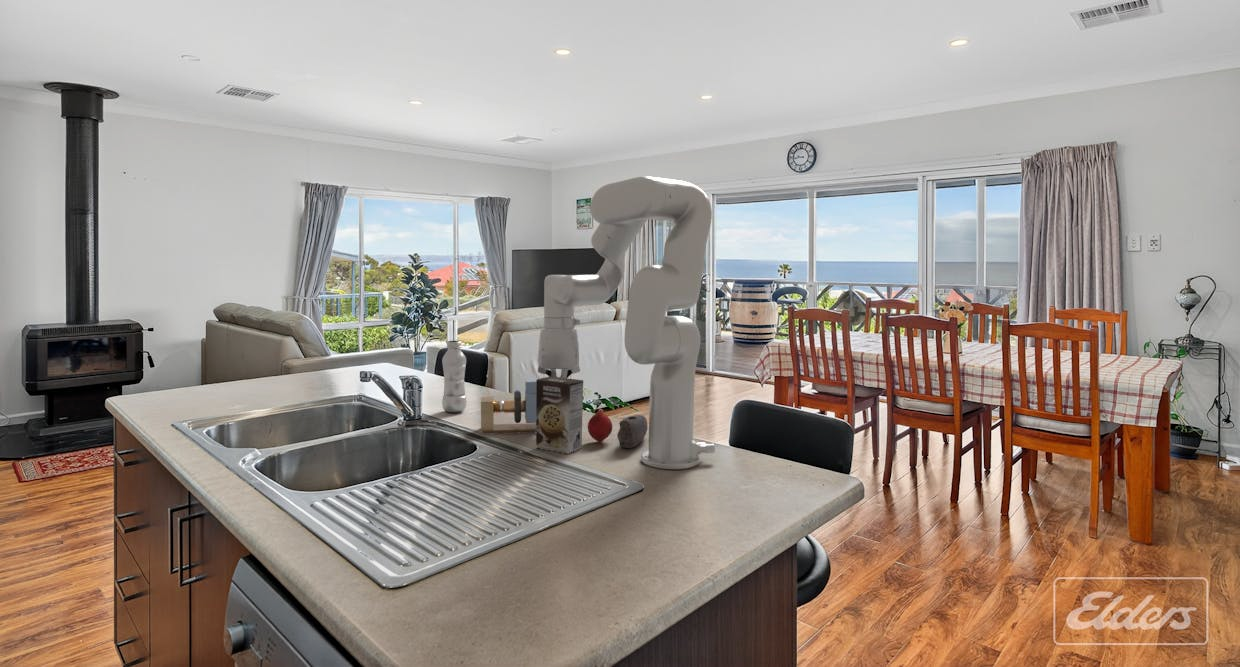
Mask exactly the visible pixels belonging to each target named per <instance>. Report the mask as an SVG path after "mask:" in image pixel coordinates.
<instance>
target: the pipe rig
mask: <svg viewBox="0 0 1240 667" xmlns="http://www.w3.org/2000/svg"><path fill="white" fill-rule="evenodd" d="M525 412H526V400H525V399H522V400H521V413H525ZM504 413H505V414H509V413H510V414H512V413H513V414H514V413H515V401H514V400H494V396H485V397H484V396H482V397H481V400H480V434H481V433H494V434H519V433H518V432H520V433H521V432H528V433H536V423H501V424H500V423H498V424H497V423H496V424H495V423H494V420H495V419H494V418H495V417H494V415H495V414H504ZM521 434H522V433H521Z"/></svg>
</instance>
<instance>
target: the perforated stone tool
mask: <svg viewBox="0 0 1240 667" xmlns="http://www.w3.org/2000/svg"><path fill="white" fill-rule="evenodd" d="M618 424H619V429H618V433H617V439H618V442H619V445H620V447H622V448H626V449H633V448H636V447H638V446H639V445H640V444H641V443H642V442H643V440H644V438H645V437H646V435H647V431H648V427H649V423H648V420H647V418H646V417H645V415H642V414H635V415H630V416H627V417H625V418H623V419H622V420H620V421H619V423H618Z"/></svg>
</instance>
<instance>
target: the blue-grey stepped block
mask: <svg viewBox="0 0 1240 667" xmlns="http://www.w3.org/2000/svg"><path fill="white" fill-rule="evenodd" d="M536 380H537V379H525V381H524V383H525V385H524V386H525V387H524V388H525V390H524V400H526V412H524V418H525V424H529V423H536V386H537V381H536Z"/></svg>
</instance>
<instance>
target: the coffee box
mask: <svg viewBox="0 0 1240 667" xmlns="http://www.w3.org/2000/svg"><path fill="white" fill-rule="evenodd" d="M535 380H536V381H537V386H536V432H535V448H536V449H537V448H540V449H539V450H543V449H545V450H544V451H548V450H551V451H550V452H554V451H556V452H555V453H559V452H561V453H560V454H565V453H567V454H566V455H570V454H572V453H573V451H574V452H576V451H578V449H579V450H581V449H583V410H584V409H583V406H584V404H583V403H584V402H583V401H584V400H583V398H584V379H574V378H569V377H568V378H561V376H559V377H558V376H557V377H553V376H550V377H549V376H547V377H546V376H544V377H541V378H537V379H535ZM580 448H581V449H580ZM571 452H572V453H571ZM569 453H570V454H569Z"/></svg>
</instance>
